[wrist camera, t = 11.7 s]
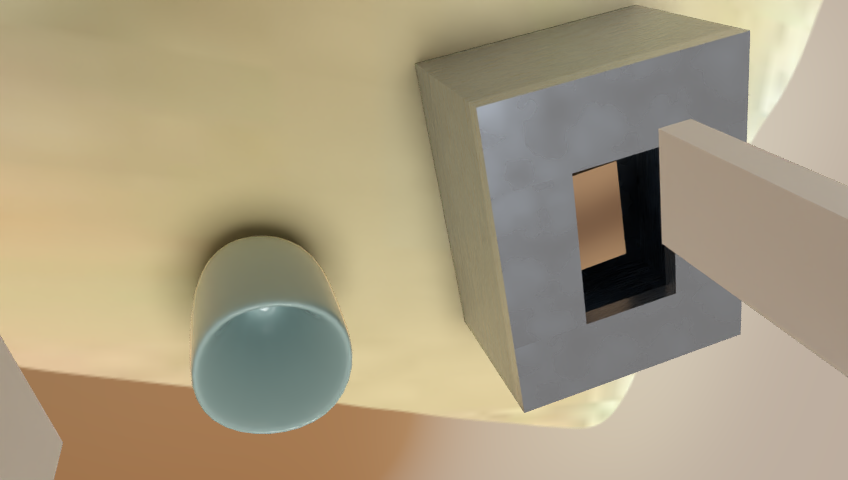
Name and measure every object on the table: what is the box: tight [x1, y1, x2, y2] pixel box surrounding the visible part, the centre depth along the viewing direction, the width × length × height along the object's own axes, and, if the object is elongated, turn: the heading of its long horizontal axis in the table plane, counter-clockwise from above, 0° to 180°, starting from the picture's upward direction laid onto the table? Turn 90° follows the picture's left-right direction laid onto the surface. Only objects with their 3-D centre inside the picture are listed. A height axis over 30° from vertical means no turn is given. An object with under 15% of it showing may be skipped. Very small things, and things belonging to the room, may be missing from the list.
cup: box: [190, 235, 352, 434], centre depth 38 cm, size 8×8×10 cm
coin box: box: [415, 5, 750, 413], centre depth 41 cm, size 18×14×10 cm
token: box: [572, 160, 626, 270], centre depth 42 cm, size 6×3×6 cm, turn 14°
